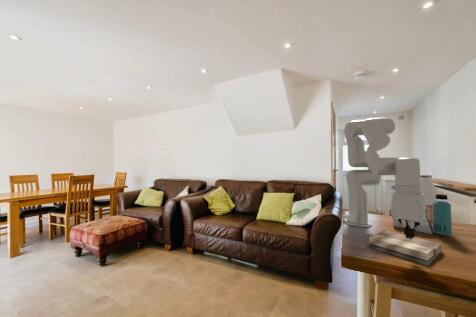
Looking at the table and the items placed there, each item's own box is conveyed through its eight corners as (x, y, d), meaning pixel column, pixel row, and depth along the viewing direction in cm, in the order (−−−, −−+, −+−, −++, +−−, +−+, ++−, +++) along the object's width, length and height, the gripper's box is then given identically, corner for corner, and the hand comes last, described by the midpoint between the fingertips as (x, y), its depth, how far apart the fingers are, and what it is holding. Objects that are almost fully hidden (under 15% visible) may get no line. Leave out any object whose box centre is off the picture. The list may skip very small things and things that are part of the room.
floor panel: (366, 246, 88) (366, 239, 88) (384, 237, 98) (383, 230, 98) (427, 265, 72) (427, 256, 72) (441, 251, 82) (441, 243, 82)
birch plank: (369, 243, 89) (369, 237, 89) (377, 239, 93) (377, 234, 93) (427, 260, 73) (427, 253, 73) (433, 255, 77) (433, 248, 77)
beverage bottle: (449, 234, 99) (447, 193, 100) (455, 239, 93) (454, 195, 94) (431, 232, 102) (429, 193, 103) (436, 237, 96) (435, 195, 97)
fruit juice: (419, 226, 112) (417, 175, 112) (414, 221, 120) (412, 174, 120) (442, 229, 107) (440, 175, 108) (435, 223, 116) (433, 174, 116)
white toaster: (435, 232, 103) (432, 214, 101) (432, 237, 101) (429, 219, 99) (396, 224, 117) (393, 208, 115) (392, 228, 115) (389, 212, 113)
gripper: (381, 188, 83) (383, 234, 82) (430, 192, 70) (433, 246, 70) (389, 187, 87) (391, 230, 86) (437, 190, 74) (439, 241, 74)
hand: (409, 237), depth 78 cm, fingers closed
